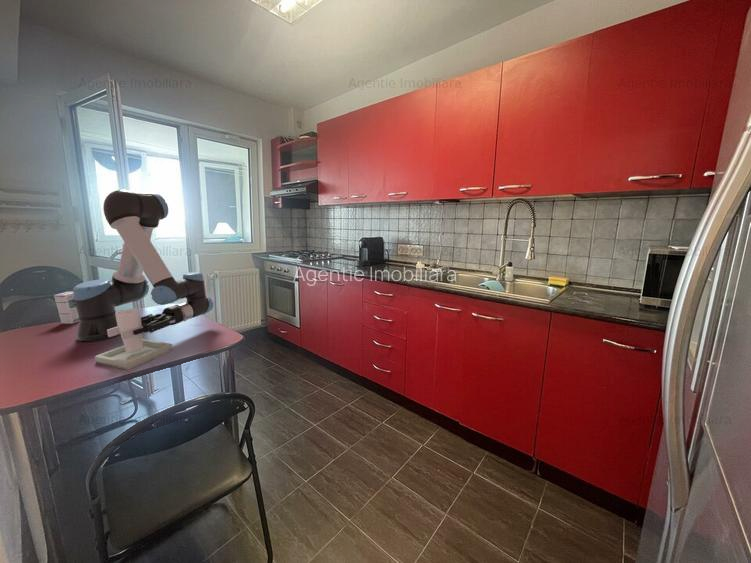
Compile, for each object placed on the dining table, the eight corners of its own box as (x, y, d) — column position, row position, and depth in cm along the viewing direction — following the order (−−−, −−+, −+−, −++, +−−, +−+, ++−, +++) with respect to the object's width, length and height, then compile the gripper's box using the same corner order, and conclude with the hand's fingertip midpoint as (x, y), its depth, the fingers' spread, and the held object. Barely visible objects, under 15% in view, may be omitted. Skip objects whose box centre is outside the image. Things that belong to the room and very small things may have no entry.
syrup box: (73, 323, 141) (66, 294, 138) (60, 323, 141) (53, 294, 138) (84, 319, 147) (78, 291, 144) (73, 319, 147) (66, 291, 144)
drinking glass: (150, 347, 111) (143, 309, 107) (131, 355, 105) (123, 315, 101) (138, 344, 113) (131, 307, 110) (118, 352, 107) (110, 313, 103)
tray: (96, 362, 104) (94, 356, 104) (143, 344, 119) (142, 338, 119) (127, 370, 99) (126, 363, 99) (172, 349, 114) (171, 343, 114)
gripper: (196, 325, 121) (136, 348, 100) (162, 319, 127) (98, 341, 106) (193, 307, 120) (132, 328, 98) (159, 303, 126) (94, 321, 104)
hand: (115, 334), depth 102 cm, fingers closed on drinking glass, 6 cm apart
